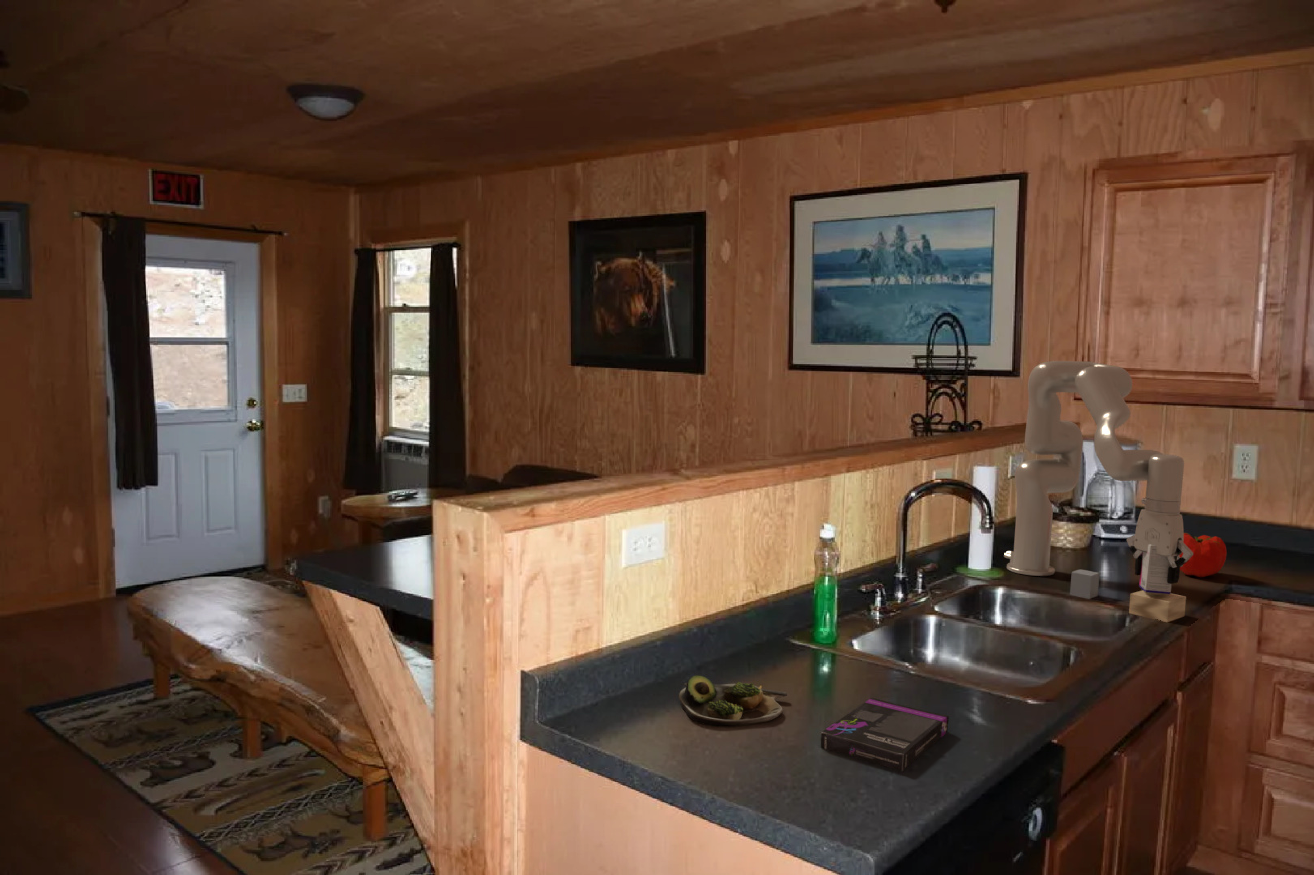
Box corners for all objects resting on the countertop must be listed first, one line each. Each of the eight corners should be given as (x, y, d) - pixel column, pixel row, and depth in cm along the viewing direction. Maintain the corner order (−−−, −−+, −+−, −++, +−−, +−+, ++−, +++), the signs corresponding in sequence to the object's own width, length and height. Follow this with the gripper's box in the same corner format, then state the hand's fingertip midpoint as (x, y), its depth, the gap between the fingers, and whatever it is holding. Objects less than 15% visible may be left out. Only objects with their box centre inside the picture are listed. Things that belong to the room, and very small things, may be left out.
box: (870, 716, 174) (818, 750, 158) (871, 696, 173) (819, 728, 158) (948, 736, 165) (902, 774, 150) (950, 715, 165) (903, 751, 149)
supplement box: (1171, 594, 236) (1176, 547, 234) (1144, 592, 237) (1149, 545, 236) (1164, 588, 241) (1168, 542, 240) (1138, 586, 243) (1142, 540, 241)
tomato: (1173, 577, 277) (1177, 536, 276) (1168, 566, 290) (1171, 527, 289) (1228, 583, 272) (1231, 541, 271) (1220, 572, 285) (1224, 531, 284)
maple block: (1128, 614, 240) (1130, 593, 240) (1146, 608, 246) (1148, 588, 245) (1167, 623, 233) (1168, 602, 233) (1184, 617, 239) (1186, 596, 238)
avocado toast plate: (771, 686, 185) (772, 662, 184) (807, 724, 168) (808, 698, 167) (670, 692, 181) (670, 668, 180) (695, 732, 163) (696, 705, 163)
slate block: (1069, 595, 256) (1071, 572, 255) (1078, 591, 259) (1080, 569, 259) (1089, 599, 252) (1091, 575, 252) (1097, 595, 256) (1099, 572, 255)
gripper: (1119, 501, 243) (1113, 571, 245) (1187, 514, 227) (1180, 589, 229) (1139, 499, 246) (1133, 569, 248) (1207, 512, 231) (1200, 586, 233)
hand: (1156, 578), depth 239 cm, fingers closed on supplement box, 7 cm apart
